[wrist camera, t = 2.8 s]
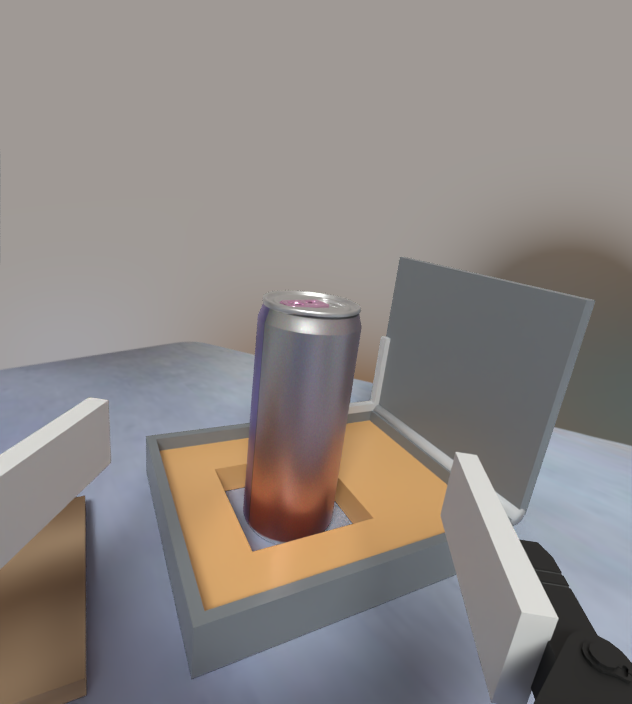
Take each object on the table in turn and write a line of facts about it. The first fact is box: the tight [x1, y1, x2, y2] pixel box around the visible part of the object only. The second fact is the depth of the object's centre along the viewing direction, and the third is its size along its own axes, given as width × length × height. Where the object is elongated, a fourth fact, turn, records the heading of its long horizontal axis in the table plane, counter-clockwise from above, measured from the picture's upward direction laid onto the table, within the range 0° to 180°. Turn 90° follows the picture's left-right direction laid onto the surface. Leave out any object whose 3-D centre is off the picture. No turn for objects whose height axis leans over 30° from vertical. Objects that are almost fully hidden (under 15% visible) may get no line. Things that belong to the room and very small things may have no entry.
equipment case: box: [146, 257, 595, 679], centre depth 27 cm, size 16×21×17 cm
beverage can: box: [243, 290, 361, 545], centre depth 26 cm, size 6×6×15 cm
